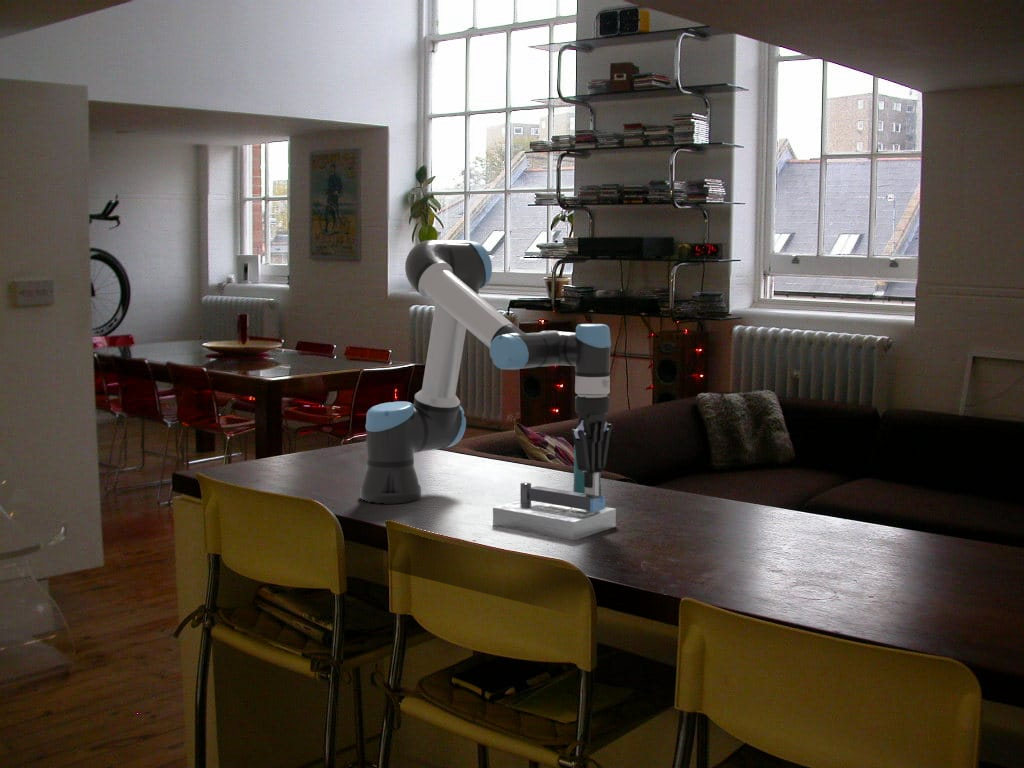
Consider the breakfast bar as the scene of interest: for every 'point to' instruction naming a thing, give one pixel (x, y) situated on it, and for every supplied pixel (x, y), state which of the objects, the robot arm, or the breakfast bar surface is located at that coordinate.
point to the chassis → (551, 518)
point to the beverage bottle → (580, 478)
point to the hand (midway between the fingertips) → (591, 501)
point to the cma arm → (567, 498)
